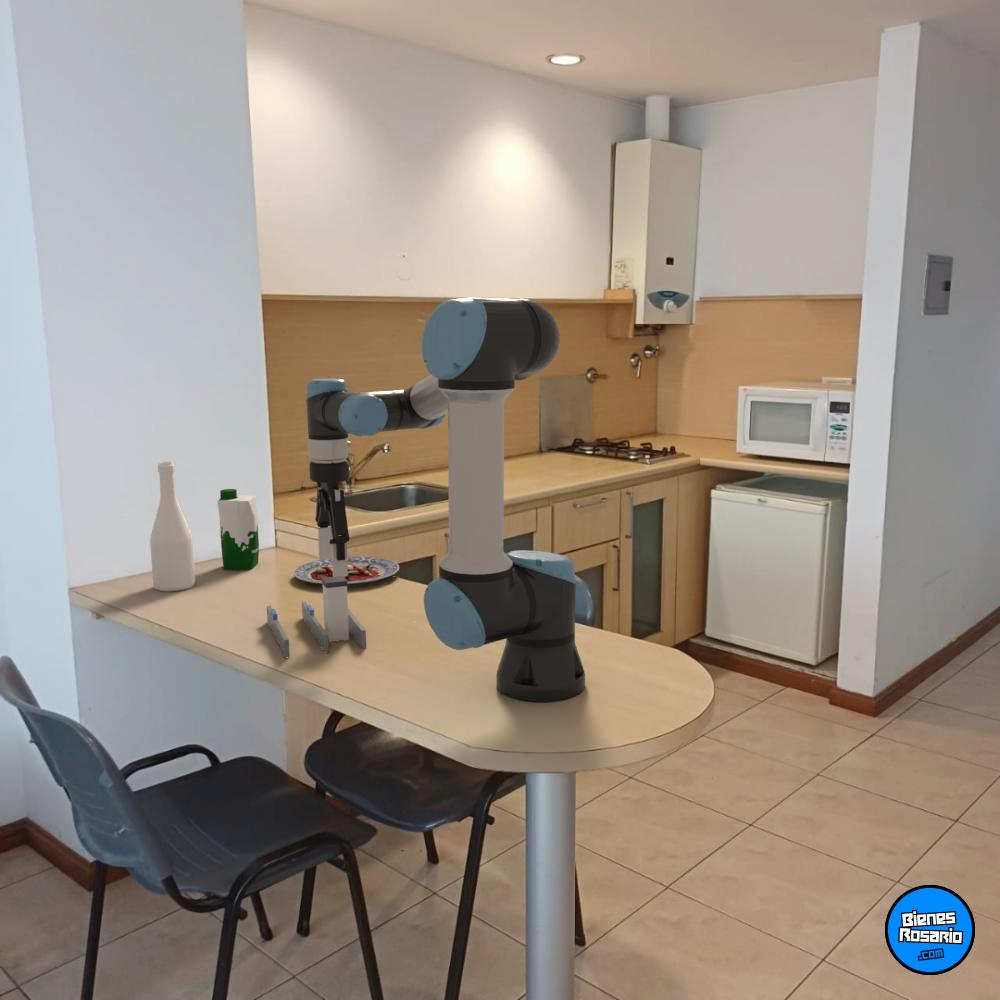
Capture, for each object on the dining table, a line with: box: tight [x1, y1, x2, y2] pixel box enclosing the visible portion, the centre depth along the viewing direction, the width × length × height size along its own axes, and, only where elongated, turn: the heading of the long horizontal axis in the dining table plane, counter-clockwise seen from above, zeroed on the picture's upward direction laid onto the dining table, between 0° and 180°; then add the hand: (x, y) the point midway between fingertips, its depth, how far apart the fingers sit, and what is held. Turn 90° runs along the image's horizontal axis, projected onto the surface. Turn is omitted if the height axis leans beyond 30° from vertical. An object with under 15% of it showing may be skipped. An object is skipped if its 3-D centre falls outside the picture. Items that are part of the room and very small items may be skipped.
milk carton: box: [217, 488, 260, 571], centre depth 247 cm, size 9×9×20 cm
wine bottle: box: [149, 461, 196, 592], centre depth 227 cm, size 10×10×30 cm
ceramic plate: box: [292, 556, 400, 586], centre depth 238 cm, size 26×26×3 cm
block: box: [321, 576, 350, 643], centre depth 190 cm, size 4×4×12 cm
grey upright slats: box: [266, 601, 367, 658], centre depth 193 cm, size 24×15×4 cm, turn 21°
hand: (333, 567), depth 189 cm, fingers open, 13 cm apart
